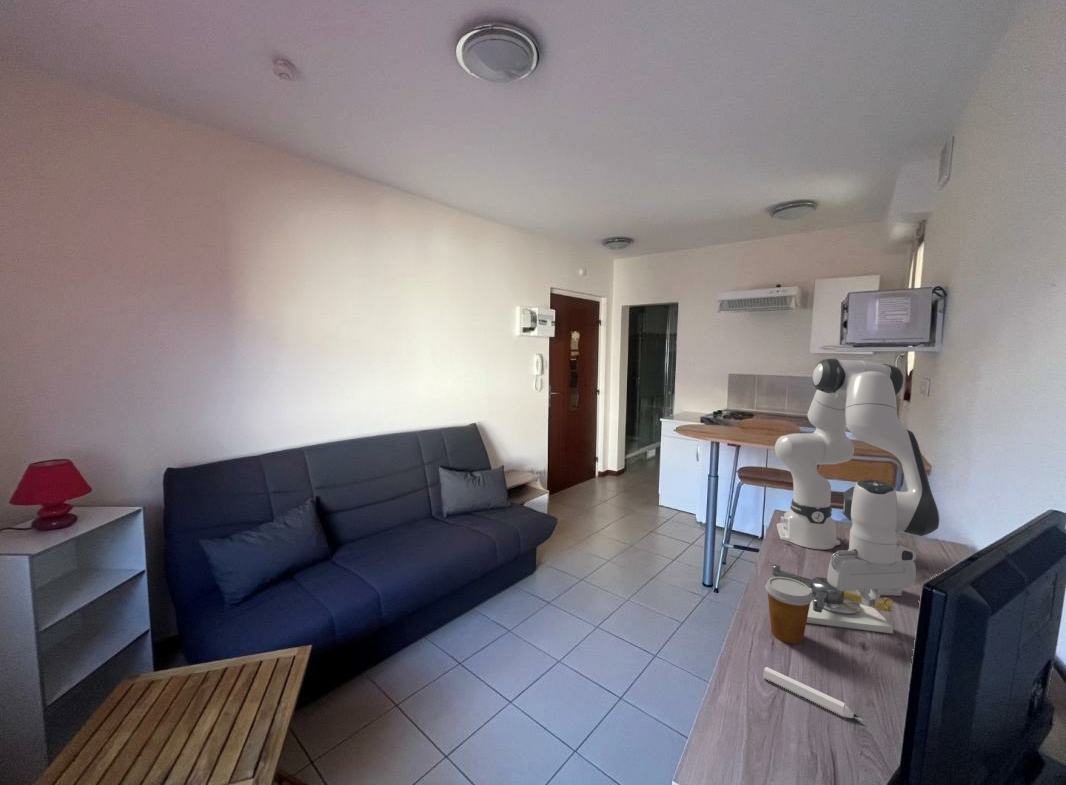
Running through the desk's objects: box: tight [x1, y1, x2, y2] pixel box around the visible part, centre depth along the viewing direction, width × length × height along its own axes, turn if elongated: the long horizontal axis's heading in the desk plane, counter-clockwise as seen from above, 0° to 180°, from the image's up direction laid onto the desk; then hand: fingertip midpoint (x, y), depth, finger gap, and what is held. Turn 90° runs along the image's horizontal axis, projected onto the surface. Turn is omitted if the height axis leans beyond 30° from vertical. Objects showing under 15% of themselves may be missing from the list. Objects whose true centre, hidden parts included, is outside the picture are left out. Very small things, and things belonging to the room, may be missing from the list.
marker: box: [762, 666, 864, 721], centre depth 80 cm, size 3×2×16 cm
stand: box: [806, 588, 894, 634], centre depth 111 cm, size 18×20×4 cm
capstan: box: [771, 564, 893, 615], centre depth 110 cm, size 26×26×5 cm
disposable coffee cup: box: [764, 576, 813, 645], centre depth 99 cm, size 10×10×12 cm
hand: (869, 604), depth 102 cm, fingers closed
